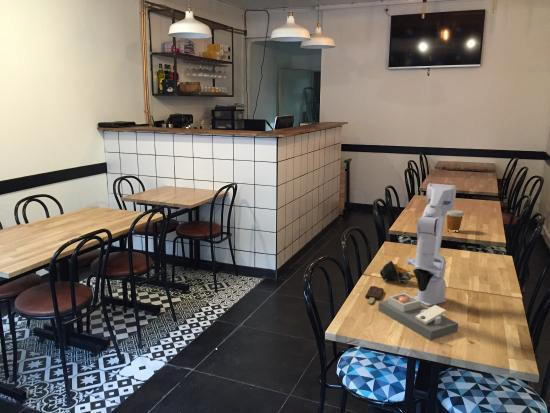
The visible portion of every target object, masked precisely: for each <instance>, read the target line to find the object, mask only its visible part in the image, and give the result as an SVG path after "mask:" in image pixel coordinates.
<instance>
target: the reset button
mask: <svg viewBox="0 0 550 413" xmlns="http://www.w3.org/2000/svg"><path fill="white" fill-rule="evenodd" d="M399 301H400V302H402V303H404V304H405V303H409V301H410V299H409V298H408V297H404V296H401V297H399Z"/></svg>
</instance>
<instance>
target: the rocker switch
mask: <svg viewBox="0 0 550 413" xmlns="http://www.w3.org/2000/svg"><path fill="white" fill-rule="evenodd" d="M428 308H429V309H427V310H425V311H424V312H422V313H420V314H418V315H417V316H415V317H416V319H417V320H419V321H420V322H422V323H424V324H428V323H429V322H431V321H433V320H435V318H436V317H440V316H441V315H443V316H444V315H445V314H446V313H447V310H446V309H445V308H442V307H440V306H438V305H437V304H434V305H431V306H430V307H428Z"/></svg>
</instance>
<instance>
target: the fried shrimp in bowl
mask: <svg viewBox="0 0 550 413" xmlns="http://www.w3.org/2000/svg"><path fill="white" fill-rule="evenodd" d="M408 272H409V273H408ZM410 272H411V270H410V269H409V270H407V269H404V267H403V268H402V267H400V266H398V264H397V263H395V262H393V261H391V260H389V261H388V262H387V263H386V264H384V265H383V267H382V268H381V269H380V272H379V274H380V276H381V279H382V281H385V280H386V281H387V282H398V283H400V284H406V283H407V282H408V281H411V279H412V278H416V276H415V274H414V273H410Z"/></svg>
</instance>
